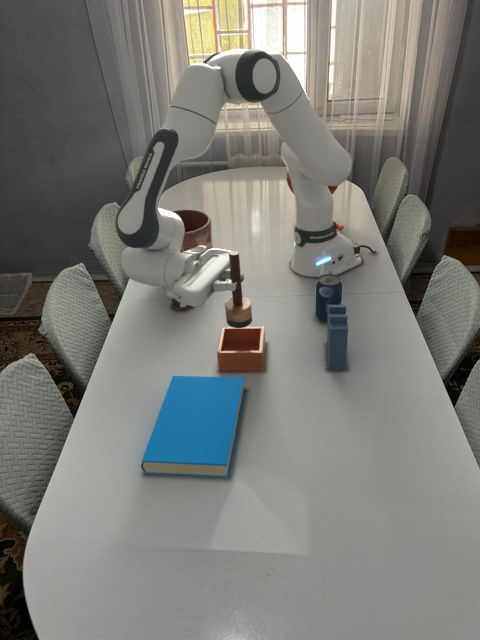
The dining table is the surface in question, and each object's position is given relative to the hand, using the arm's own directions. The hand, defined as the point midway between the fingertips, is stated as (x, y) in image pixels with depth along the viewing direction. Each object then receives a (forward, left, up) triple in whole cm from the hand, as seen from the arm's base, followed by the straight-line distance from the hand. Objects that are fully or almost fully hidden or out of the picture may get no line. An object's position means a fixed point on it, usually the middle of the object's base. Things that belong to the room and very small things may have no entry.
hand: (239, 282), depth 113 cm
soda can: (-27, -4, -22) cm, 35 cm away
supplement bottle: (+5, -31, -22) cm, 39 cm away
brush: (-3, +4, -8) cm, 9 cm away
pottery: (-3, -47, -22) cm, 52 cm away
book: (+19, +17, -22) cm, 33 cm away
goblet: (-59, -64, -22) cm, 90 cm away
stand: (-19, +11, -21) cm, 31 cm away
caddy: (0, -1, -21) cm, 22 cm away
